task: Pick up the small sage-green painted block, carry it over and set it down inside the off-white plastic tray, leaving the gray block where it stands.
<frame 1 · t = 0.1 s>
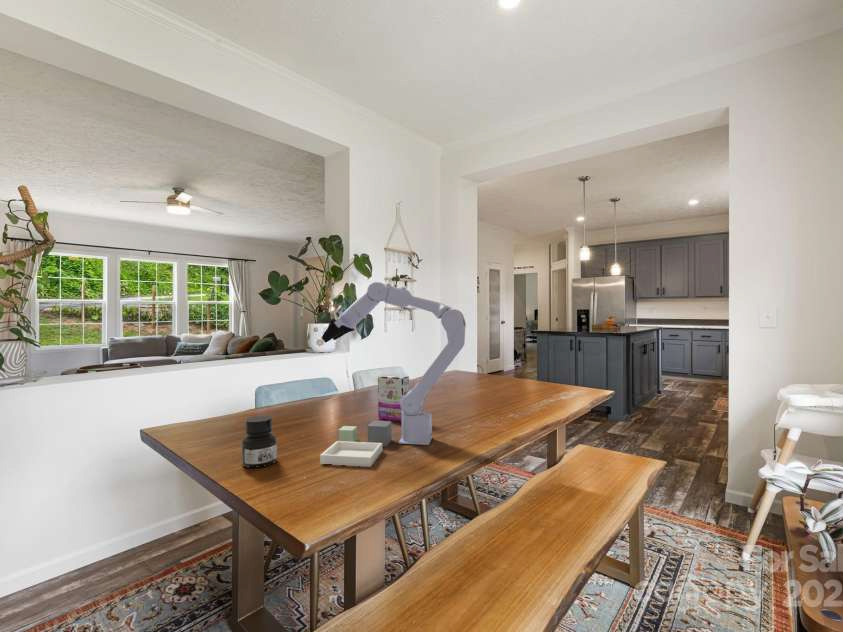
hand: (328, 339, 134), 32 cm above the table, tool tilted 50°, fingers open, 7 cm apart
sage block: (348, 442, 129), on the table
candy bar box: (393, 420, 156), on the table
tray: (352, 457, 115), on the table
gray block: (379, 442, 129), on the table
ink bottle: (259, 463, 113), on the table
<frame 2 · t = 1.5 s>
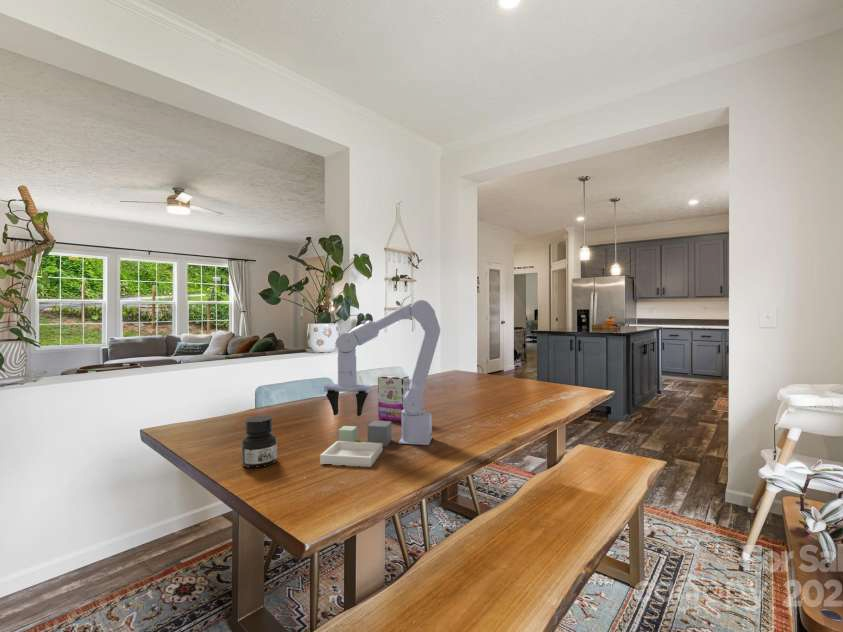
hand: (347, 414, 129), 9 cm above the table, tool pointing down, fingers open, 7 cm apart
nothing on the table moved.
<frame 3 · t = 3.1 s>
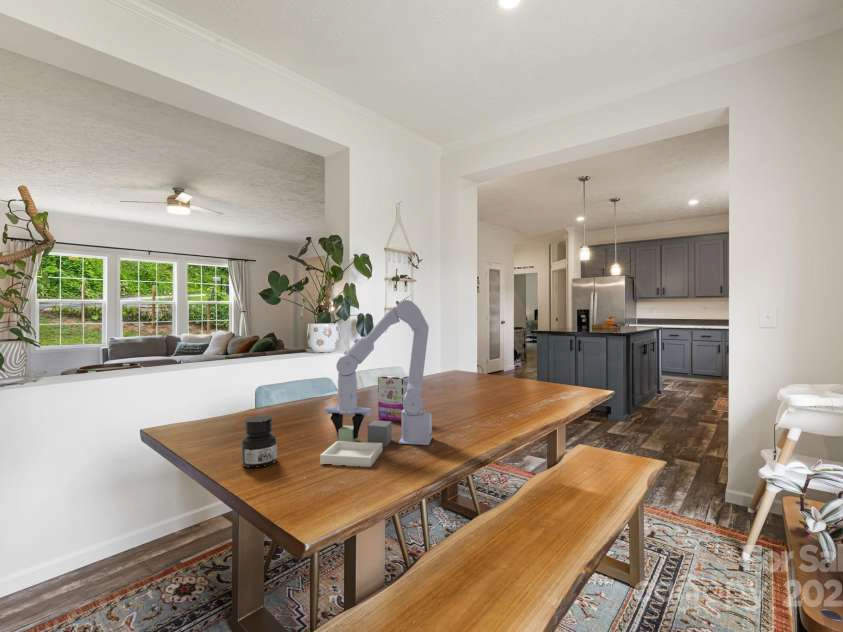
hand: (348, 437, 129), 1 cm above the table, tool pointing down, fingers closed on sage block, 4 cm apart
sage block: (348, 442, 129), on the table, touching gripper
everything else where it was.
when the fingers open (4 cm above the table, at t = 6.7 s): sage block drops 2 cm, resting on tray.
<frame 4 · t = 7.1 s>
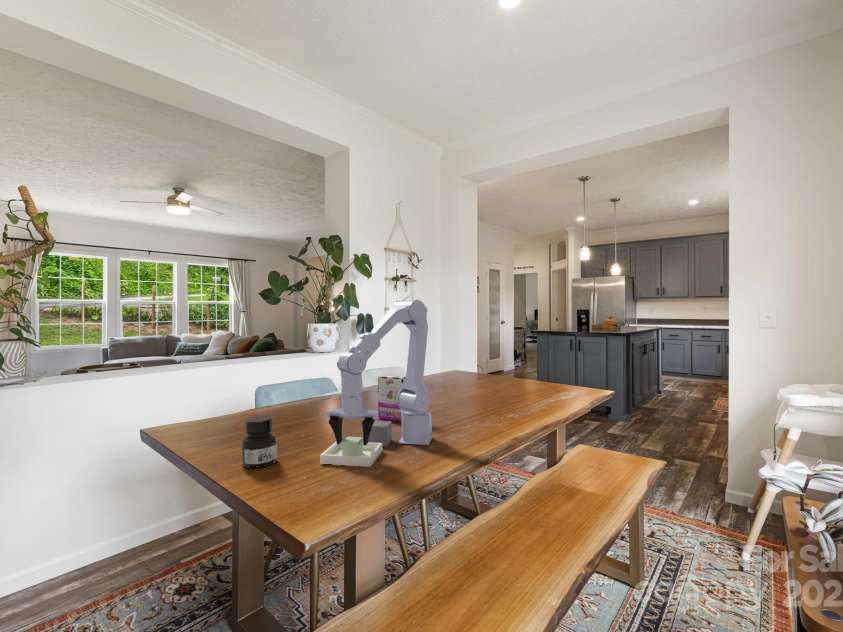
hand: (352, 443, 115), 4 cm above the table, tool pointing down, fingers open, 7 cm apart
sage block: (352, 455, 116), point 1 cm above the table, touching tray
everything else where it was.
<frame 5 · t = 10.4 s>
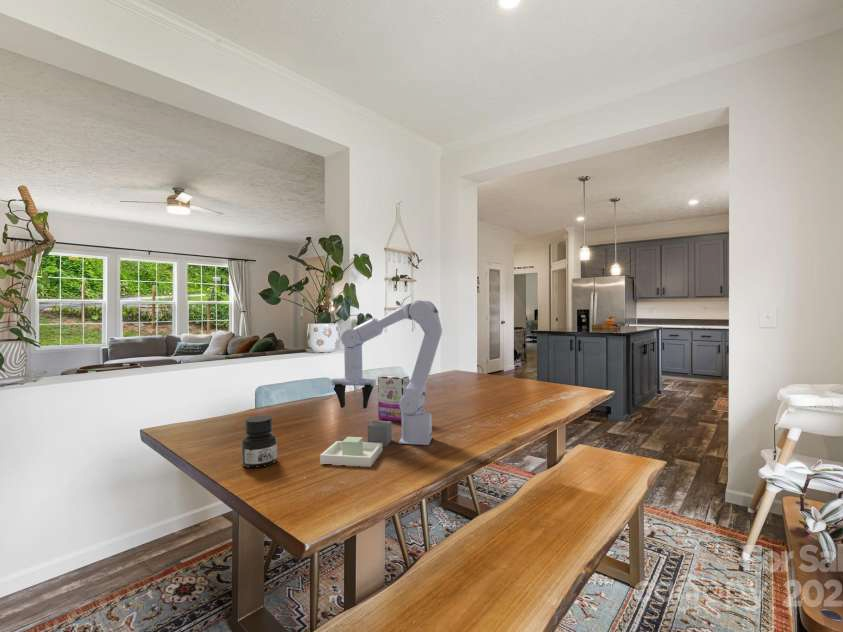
hand: (354, 407, 135), 9 cm above the table, tool pointing down, fingers open, 7 cm apart
nothing on the table moved.
at the end: sage block inside the target area on the tray (0.1 cm from its centre), point 0.6 cm above the tray's base; the gripper is holding nothing; gray block moved 0.1 cm from its start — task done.
